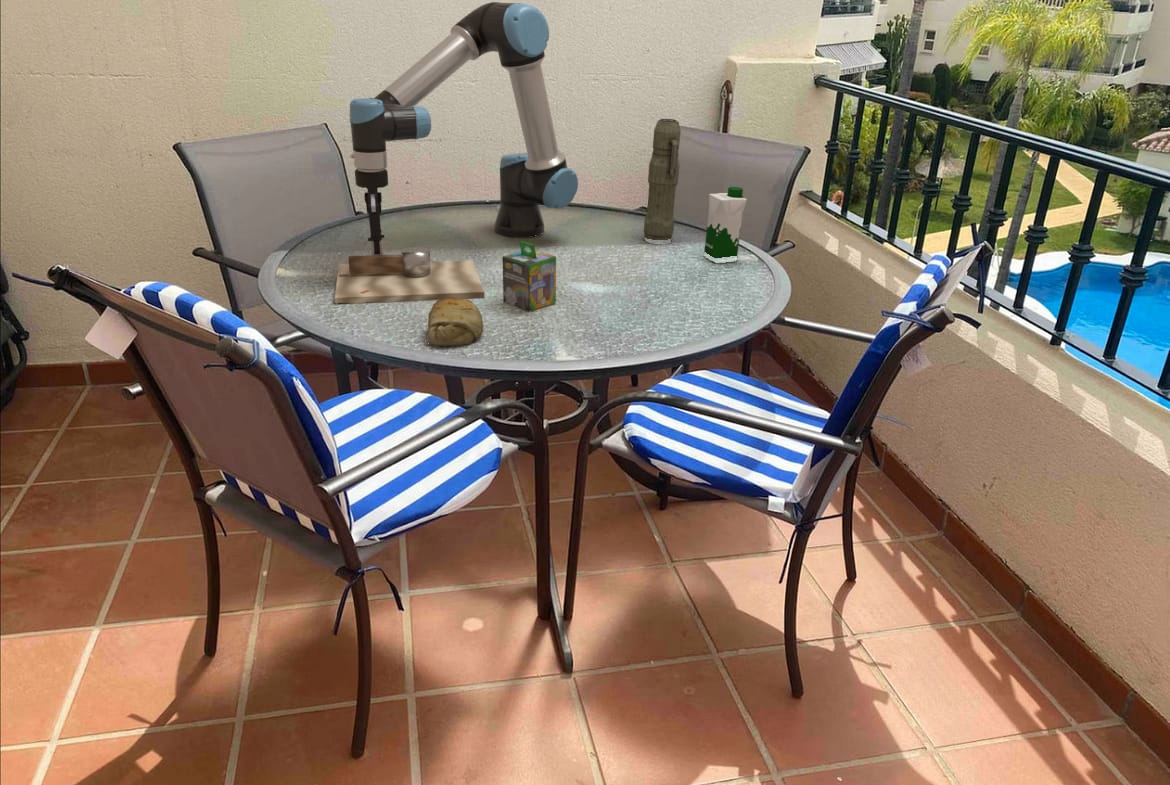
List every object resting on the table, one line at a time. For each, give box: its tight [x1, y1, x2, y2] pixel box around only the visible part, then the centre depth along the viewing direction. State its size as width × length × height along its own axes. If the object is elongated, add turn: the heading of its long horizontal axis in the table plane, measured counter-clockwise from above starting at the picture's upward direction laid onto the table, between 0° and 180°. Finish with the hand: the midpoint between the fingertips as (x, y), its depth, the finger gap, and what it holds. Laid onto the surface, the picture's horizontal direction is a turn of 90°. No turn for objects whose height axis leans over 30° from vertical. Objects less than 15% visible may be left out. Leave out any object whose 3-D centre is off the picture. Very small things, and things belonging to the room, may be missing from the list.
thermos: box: [643, 118, 682, 240], centre depth 230 cm, size 9×12×35 cm
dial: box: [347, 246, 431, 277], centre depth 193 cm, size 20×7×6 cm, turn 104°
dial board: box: [334, 259, 485, 304], centre depth 193 cm, size 34×25×2 cm
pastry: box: [426, 297, 484, 347], centre depth 164 cm, size 14×12×8 cm
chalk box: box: [502, 240, 557, 313], centre depth 182 cm, size 9×9×15 cm
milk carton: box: [703, 186, 748, 258], centre depth 218 cm, size 9×9×20 cm
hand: (378, 265), depth 195 cm, fingers closed
